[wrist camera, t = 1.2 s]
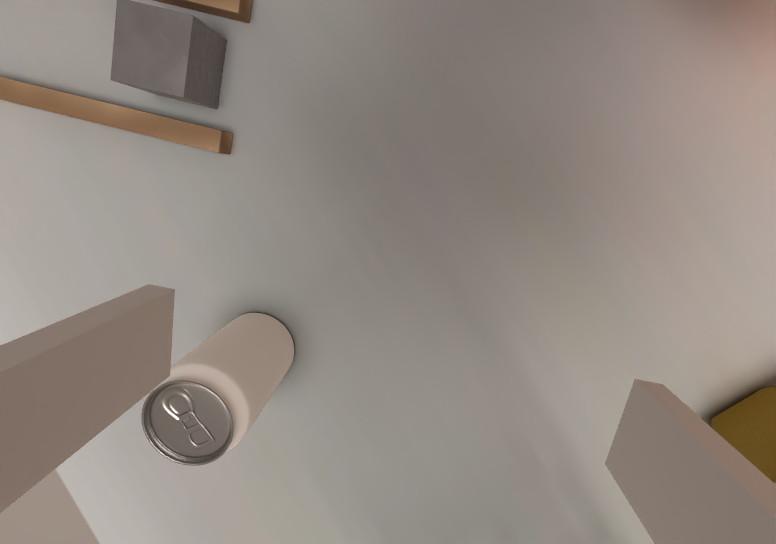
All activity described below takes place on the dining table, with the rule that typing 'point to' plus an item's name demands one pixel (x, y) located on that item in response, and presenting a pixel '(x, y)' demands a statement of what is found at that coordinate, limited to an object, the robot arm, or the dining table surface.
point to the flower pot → (752, 429)
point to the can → (218, 390)
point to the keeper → (167, 54)
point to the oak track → (225, 3)
